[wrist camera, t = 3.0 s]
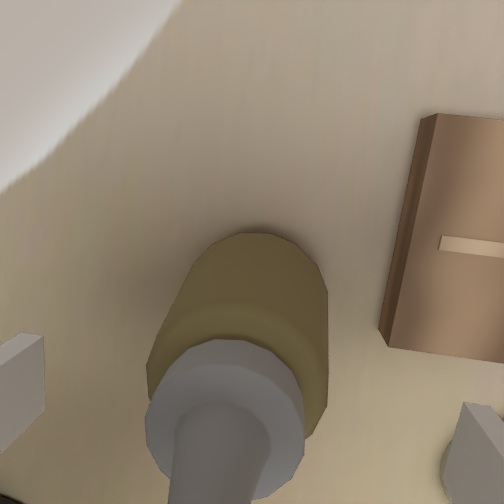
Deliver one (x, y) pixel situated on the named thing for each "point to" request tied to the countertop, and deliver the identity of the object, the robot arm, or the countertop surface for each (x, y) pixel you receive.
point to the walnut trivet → (451, 244)
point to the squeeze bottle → (239, 371)
